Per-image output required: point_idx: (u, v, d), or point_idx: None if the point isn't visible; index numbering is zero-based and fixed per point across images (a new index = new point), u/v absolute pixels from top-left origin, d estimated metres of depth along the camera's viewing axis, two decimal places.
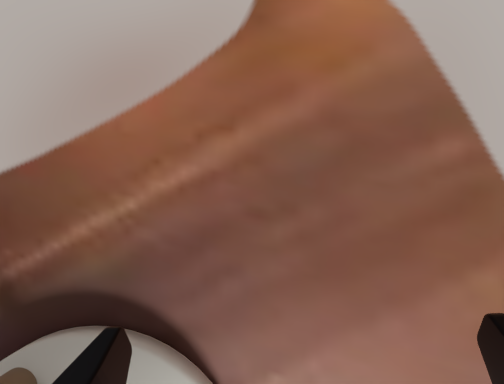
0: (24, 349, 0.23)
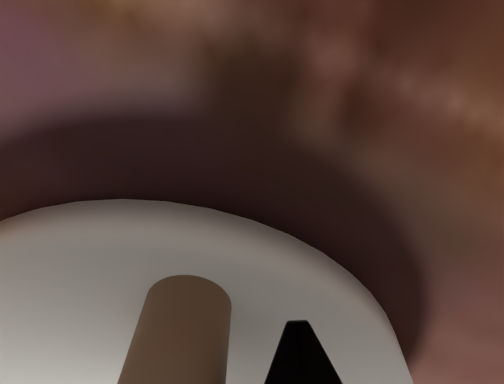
0: (256, 270, 0.10)
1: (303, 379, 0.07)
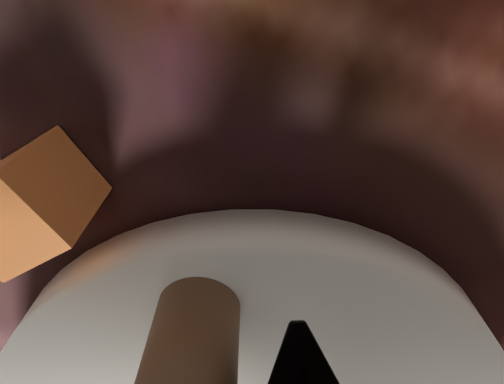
0: (236, 252, 0.10)
1: (300, 379, 0.07)
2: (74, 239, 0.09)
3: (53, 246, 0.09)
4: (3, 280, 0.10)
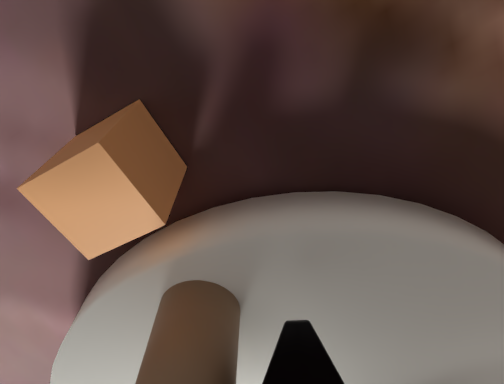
0: (210, 249, 0.10)
1: (305, 379, 0.07)
2: (166, 216, 0.09)
3: (146, 222, 0.09)
4: (89, 257, 0.09)
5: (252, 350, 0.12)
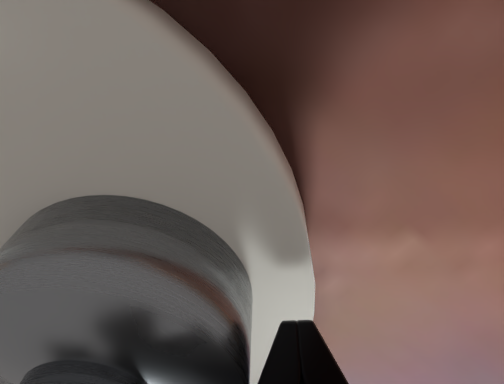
0: None
1: (308, 379, 0.07)
2: None
3: None
4: None
5: None
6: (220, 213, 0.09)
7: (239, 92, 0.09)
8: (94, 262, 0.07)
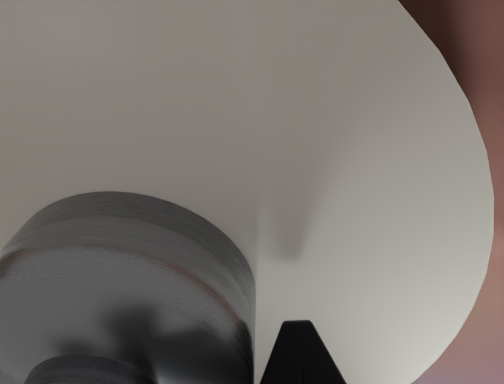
0: None
1: (307, 379, 0.07)
2: None
3: None
4: None
5: None
6: (412, 200, 0.09)
7: None
8: (104, 256, 0.07)
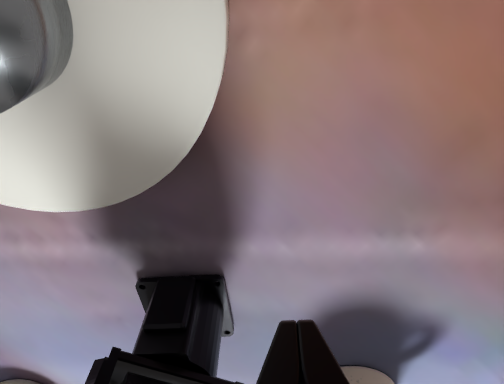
0: None
1: (310, 379, 0.07)
2: None
3: None
4: None
5: None
6: None
7: None
8: None
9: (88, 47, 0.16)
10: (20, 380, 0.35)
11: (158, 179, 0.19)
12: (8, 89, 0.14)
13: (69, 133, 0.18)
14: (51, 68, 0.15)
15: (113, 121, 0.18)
